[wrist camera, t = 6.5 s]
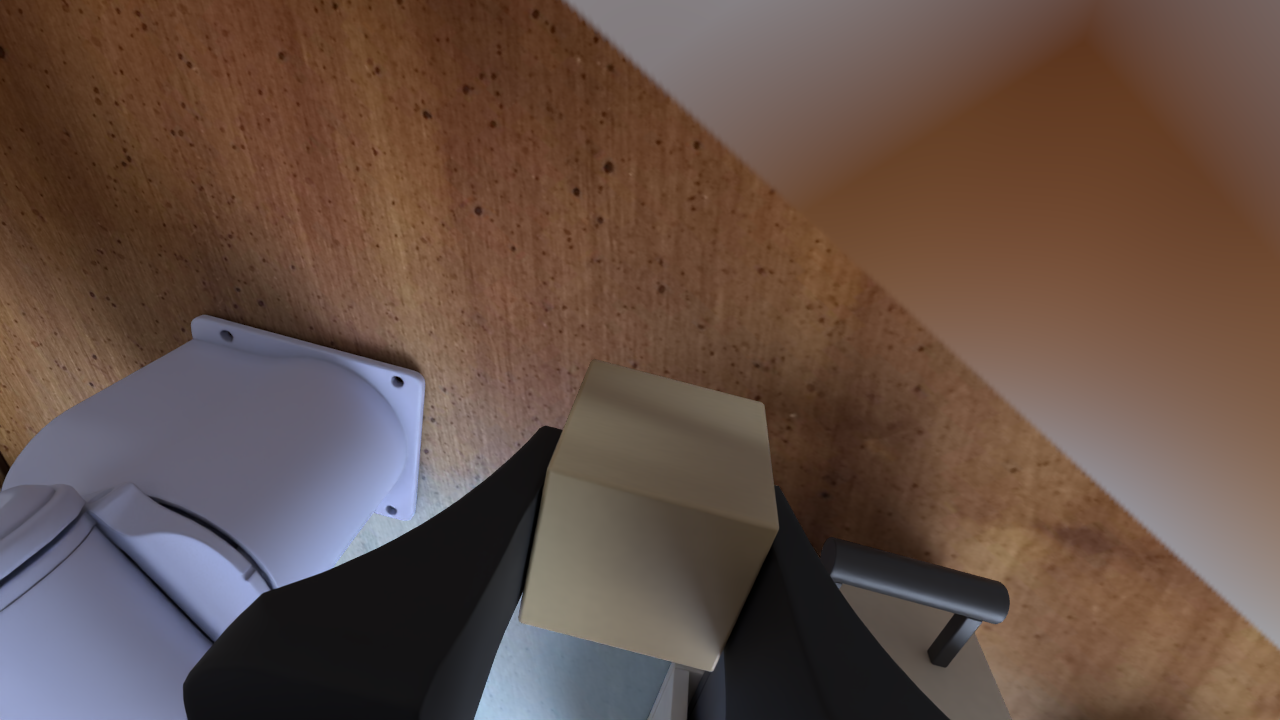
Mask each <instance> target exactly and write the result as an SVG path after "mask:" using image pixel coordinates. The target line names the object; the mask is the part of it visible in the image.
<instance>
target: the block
mask: <svg viewBox="0 0 1280 720" xmlns="http://www.w3.org/2000/svg"><path fill="white" fill-rule="evenodd" d="M778 530H779V522H778V514H777V505H776V497H775V489H774V480H773V472H772V464H771V455H770V447H769V439H768V430H767V422H766V414H765V406H764V404H763V403H761V402H758V401H754V400H750V399H746V398H742V397H739V396H735V395H731V394H727V393H723V392H719V391H715V390H712V389H708V388H704V387H700V386H696V385H692V384H688V383H685V382H681V381H677V380H673V379H669V378H665V377H661V376H658V375H654V374H650V373H646V372H642V371H638V370H634V369H631V368H627V367H623V366H619V365H615V364H611V363H607V362H604V361H600V360H596V359H595V360H592V361H591V362H590V364H589V367H588V369H587V372H586V374H585V377H584V379H583V382H582V384H581V387H580V389H579V391H578V394H577V396H576V399H575V401H574V404H573V406H572V409H571V411H570V414H569V416H568V418H567V421H566V423H565V426H564V428H563V431H562V433H561V436H560V438H559V441H558V443H557V445H556V448H555V450H554V453H553V455H552V458H551V460H550V463H549V465H548V468H547V471H546V477H545V482H544V487H543V492H542V497H541V502H540V508H539V513H538V518H537V523H536V528H535V533H534V538H533V544H532V549H531V554H530V559H529V564H528V569H527V574H526V580H525V585H524V590H523V595H522V600H521V605H520V610H519V616H518V618H519V622H521V623H523V624H527V625H531V626H535V627H539V628H542V629H546V630H550V631H554V632H558V633H562V634H566V635H570V636H573V637H577V638H581V639H585V640H589V641H593V642H597V643H601V644H604V645H608V646H612V647H616V648H620V649H624V650H628V651H632V652H635V653H639V654H643V655H647V656H651V657H655V658H659V659H663V660H666V661H670V662H674V663H678V664H682V665H686V666H690V667H694V668H697V669H701V670H705V671H709V672H710V671H713V670H714V669H715V667H716V664H717V662H718V660H719V658H720V656H721V654H722V651H723V649H724V647H725V645H726V643H727V641H728V638H729V636H730V634H731V632H732V630H733V628H734V626H735V623H736V621H737V619H738V617H739V615H740V613H741V610H742V608H743V606H744V604H745V602H746V600H747V597H748V595H749V593H750V591H751V589H752V587H753V584H754V582H755V580H756V578H757V576H758V574H759V571H760V569H761V567H762V565H763V563H764V561H765V558H766V556H767V554H768V552H769V550H770V548H771V545H772V543H773V541H774V539H775V537H776V535H777V532H778Z"/></svg>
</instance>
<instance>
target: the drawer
mask: <svg viewBox="0 0 1280 720" xmlns="http://www.w3.org/2000/svg"><path fill="white" fill-rule="evenodd" d="M820 560H821V562H822V564H823V565H824V567H825V568H826V570H827V572H828V573H829V575H830V576H831V578H832V579H833V581H834V582H835V584H836V585H837V587H838V588H839V590H840V591H841V593H842V594H843V596H844V597H845V599H846V600H847V602H848V603H849V604H850V606H851V607H852V609H853V610H854V611H855V613H856V614H857V615H858V617H859V618H860V619H861V621H862V622H863V623H864V624H865V626H866V627H867V628H868V629H869V631H870V632H871V633H872V635H873V636H874V637H875V638H876V640H877V641H878V642H879V643H880V645H881V646H882V647H883V648H884V649H885V651H886V652H887V653H888V654H889V655H890V656H891V658H892V659H893V660H894V661H895V662H896V663H897V664H898V666H899V667H900V668H901V669H902V670H903V671H904V672H905V673H906V674H907V675H908V677H909V678H910V679H911V680H912V681H913V682H914V683H915V684H916V685H917V686H918V688H919V689H920V690H921V691H922V692H923V693H924V694H925V695H926V696H927V697H928V698H929V699H930V700H931V701H932V702H933V703H934V704H935V705H936V706H937V707H938V708H939V709H940V710H941V711H942V712H943V713H944V714H945V715H946V716H947V717H948V718H949V719H950V720H1012V719H1011V716H1010V714H1009V712H1008V709H1007V707H1006V705H1005V702H1004V700H1003V698H1002V695H1001V693H1000V691H999V688H998V686H997V684H996V681H995V679H994V677H993V674H992V672H991V670H990V667H989V665H988V663H987V660H986V658H985V656H984V653H983V651H982V649H981V646H980V644H979V642H978V639H977V637H976V635H975V631H976V629H977V628H978V627H979V626H980V624H981V623H982V621H985V622H989V623H993V624H998V623H1001V622H1002V621H1003V620H1004V619H1005V618H1006V616H1007V614H1008V611H1009V605H1010V600H1009V594H1008V591H1007V589H1006V587H1005V586H1004V585H1003V584H1002V583H1001V582H999V581H995V580H991V579H987V578H984V577H980V576H976V575H972V574H969V573H965V572H961V571H957V570H954V569H950V568H946V567H942V566H939V565H935V564H931V563H927V562H924V561H920V560H916V559H912V558H909V557H905V556H901V555H898V554H894V553H890V552H886V551H883V550H879V549H875V548H871V547H868V546H864V545H860V544H856V543H853V542H849V541H845V540H841V539H838V538H834V537H830V538H828V539H827V540H826V542H825V543H824V546H823V548H822V551H821V556H820ZM725 715H726V689H725V669H724V649H723V651H722V654H721V656H720V658H719V660H718V662H717V664H716V667H715V669H714V670H713V671H710V672H709V671H705V672H704V674H703V676H702V678H701V680H700V682H699V684H698V686H697V689H696V691H695V693H694V695H693V697H692V699H691V701H690V704H689V706H688V709H687V720H725Z"/></svg>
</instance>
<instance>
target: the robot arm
mask: <svg viewBox="0 0 1280 720" xmlns="http://www.w3.org/2000/svg"><path fill="white" fill-rule="evenodd" d="M191 330H192V337H193V340H191V341H189V342H187V343H185V344H184V345H182V346H180V347H178V348H176V349H175V350H173V351H171V352H169V353H168V354H166V355H164V356H162V357H160V358H159V359H157V360H155V361H153V362H152V363H150V364H148V365H146V366H144V367H143V368H141V369H139V370H137V371H136V372H134V373H132V374H130V375H128V376H127V377H125V378H123V379H121V380H120V381H118V382H116V383H114V384H112V385H111V386H109V387H107V388H105V389H104V390H102V391H100V392H98V393H96V394H95V395H93V396H91V397H89V398H88V399H86V400H84V401H82V402H80V403H79V404H77V405H75V406H73V407H72V408H70V409H68V410H66V411H65V412H63V413H62V414H60V415H59V416H58V417H56V418H55V419H53V420H52V421H51V422H50V423H49V424H47V425H46V426H45V427H44V428H43V429H41V431H40V432H39V433H38V434H37V435H36V436H35V437H34V438H33V439H32V440H31V441H30V442H29V443H28V444H27V446H26V447H25V448H24V449H23V451H22V452H21V453H20V455H19V456H18V457H17V459H16V460H15V462H14V463H13V465H12V466H11V468H10V470H9V472H8V474H7V476H6V478H5V480H4V483H3V486H2V489H1V492H0V720H474V717H475V714H476V711H477V708H478V705H479V702H480V699H481V696H482V693H483V690H484V688H485V685H486V682H487V679H488V676H489V673H490V670H491V667H492V664H493V661H494V658H495V655H496V653H497V650H498V648H499V645H500V643H501V640H502V638H503V635H504V633H505V630H506V628H507V626H508V624H509V621H510V619H511V617H512V615H513V613H514V610H515V608H516V606H517V604H518V601H519V599H520V597H521V595H522V593H523V590H524V585H525V580H526V574H527V569H528V564H529V559H530V554H531V549H532V544H533V538H534V533H535V528H536V523H537V518H538V513H539V508H540V502H541V497H542V492H543V487H544V482H545V477H546V471H547V468H548V465H549V463H550V460H551V458H552V455H553V453H554V450H555V448H556V445H557V443H558V441H559V438H560V436H561V433H562V431H563V430H561V429H557V428H553V427H549V426H543V427H541V428H539V430H538V431H537V432H536V433H535V434H534V435H533V436H532V438H531V439H530V440H529V441H528V442H527V443H526V444H525V445H524V446H523V447H522V448H521V449H520V450H519V451H518V452H517V453H516V454H514V455H513V456H512V457H511V458H510V459H509V460H508V461H507V462H506V463H505V464H503V465H502V466H501V467H500V468H499V469H498V470H496V471H495V472H494V473H493V474H492V475H491V476H489V477H488V478H487V479H486V480H485V481H483V482H482V483H481V484H479V485H478V486H477V487H475V488H474V489H473V490H471V491H470V492H469V493H468V494H466V495H465V496H464V497H462V498H461V499H460V500H458V501H457V502H455V503H454V504H452V505H451V506H450V507H448V508H447V509H445V510H444V511H442V512H441V513H439V514H437V515H436V516H434V517H433V518H431V519H429V520H428V521H426V522H425V523H423V524H421V525H420V526H418V527H416V528H414V529H412V530H411V531H409V532H407V533H405V534H403V535H402V536H400V537H398V538H396V539H395V540H393V541H391V542H389V543H387V544H385V545H383V546H381V547H379V548H377V549H375V550H373V551H370V552H368V553H366V554H364V555H361V556H359V557H357V558H355V559H353V560H350V561H348V562H346V563H344V564H341V565H339V566H337V567H335V568H333V567H334V565H335V564H336V563H337V561H338V560H339V559H340V557H341V556H342V554H343V553H344V552H345V550H346V549H347V548H348V546H349V545H350V544H351V542H352V541H353V540H354V538H355V537H356V535H357V534H358V533H359V531H360V530H361V529H362V527H363V526H364V525H365V523H366V522H367V521H368V519H369V518H370V517H371V515H372V514H373V513H376V514H380V515H384V516H388V517H391V518H395V519H399V520H404V521H407V520H410V519H411V518H412V517H413V515H414V514H415V512H416V502H417V488H418V475H419V462H420V448H421V435H422V422H423V408H424V395H425V380H424V378H423V376H422V375H421V374H420V373H419V372H416V371H414V370H410V369H407V368H403V367H399V366H396V365H392V364H388V363H384V362H381V361H377V360H373V359H369V358H366V357H362V356H358V355H354V354H351V353H347V352H343V351H340V350H336V349H332V348H328V347H325V346H321V345H317V344H313V343H310V342H306V341H302V340H299V339H295V338H291V337H287V336H284V335H280V334H276V333H272V332H269V331H265V330H261V329H257V328H254V327H250V326H246V325H243V324H239V323H235V322H231V321H228V320H224V319H220V318H216V317H213V316H209V315H201V316H198V317H196V318H194V319H193V320H192V322H191ZM228 332H230V333H231V334H232V336H233V337H232V336H230V335H229V333H228ZM396 376H398V377H400V378H401V379H402V380H403V382H404V383H401V382H399V381H398V380H397V379H396ZM774 489H775V497H776V505H777V514H778V522H779V530H778V532H777V535H776V537H775V539H774V541H773V543H772V545H771V548H770V550H769V552H768V554H767V556H766V558H765V561H764V563H763V565H762V567H761V569H760V571H759V574H758V576H757V578H756V580H755V582H754V584H753V587H752V589H751V591H750V593H749V595H748V597H747V600H746V602H745V604H744V606H743V608H742V610H741V613H740V615H739V617H738V619H737V621H736V623H735V626H734V628H733V630H732V632H731V634H730V636H729V638H728V641H727V643H726V645H725V647H724V669H725V689H726V715H725V720H950V719H949V718H948V717H947V716H946V715H945V714H944V713H943V712H942V711H941V710H940V709H939V708H938V707H937V706H936V705H935V704H934V703H933V702H932V701H931V700H930V699H929V698H928V697H927V696H926V695H925V694H924V693H923V692H922V691H921V690H920V689H919V688H918V686H917V685H916V684H915V683H914V682H913V681H912V680H911V679H910V678H909V677H908V675H907V674H906V673H905V672H904V671H903V670H902V669H901V668H900V667H899V666H898V664H897V663H896V662H895V661H894V660H893V659H892V658H891V656H890V655H889V654H888V653H887V652H886V651H885V649H884V648H883V647H882V646H881V645H880V643H879V642H878V641H877V640H876V638H875V637H874V636H873V635H872V633H871V632H870V631H869V629H868V628H867V627H866V626H865V624H864V623H863V622H862V621H861V619H860V618H859V617H858V615H857V614H856V613H855V611H854V610H853V609H852V607H851V606H850V604H849V603H848V602H847V600H846V599H845V597H844V596H843V594H842V593H841V591H840V590H839V588H838V587H837V585H836V584H835V582H834V581H833V579H832V578H831V576H830V575H829V573H828V572H827V570H826V568H825V567H824V565H823V564H822V562H821V560H820V558H819V557H818V555H817V553H816V552H815V550H814V548H813V547H812V545H811V543H810V542H809V540H808V538H807V536H806V534H805V533H804V531H803V529H802V527H801V525H800V524H799V522H798V520H797V518H796V516H795V514H794V513H793V511H792V509H791V507H790V505H789V503H788V501H787V500H786V498H785V496H784V494H783V492H782V491H781V489H780V487H779V486H777V485H774ZM392 506H393V507H394V508H393V507H392Z"/></svg>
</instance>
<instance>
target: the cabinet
mask: <svg viewBox="0 0 1280 720" xmlns="http://www.w3.org/2000/svg"><path fill="white" fill-rule="evenodd" d="M704 672H705V670H701V669H697V668H694V667H690V666H686V665H682V664H678V663H674V662H671V665H670V667H669V669H668V672H667V674H666V677H665V679H664V681H663V684H662V686H661V688H660V691H659V693H658V696H657V698H656V700H655V703H654V705H653V707H652V710H651V712H650V715H649V717H648V719H647V720H687V709H688V706H689V704H690V701H691V699H692V697H693V695H694V693H695V691H696V689H697V686H698V684H699V682H700V680H701V678H702V676H703V674H704Z"/></svg>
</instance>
